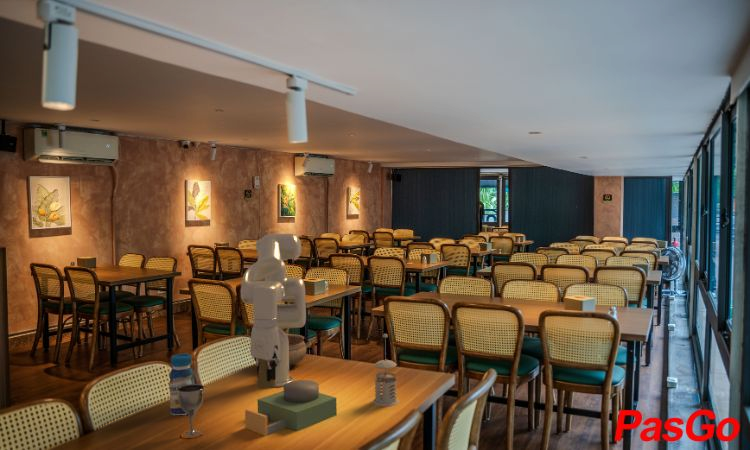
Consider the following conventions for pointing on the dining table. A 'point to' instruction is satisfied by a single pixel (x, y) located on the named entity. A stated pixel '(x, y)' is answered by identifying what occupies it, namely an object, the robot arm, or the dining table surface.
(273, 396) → the green box with dome
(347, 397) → the dining table surface
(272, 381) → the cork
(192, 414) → the wine glass
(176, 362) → the beverage bottle
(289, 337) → the cooking pot
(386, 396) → the french press
